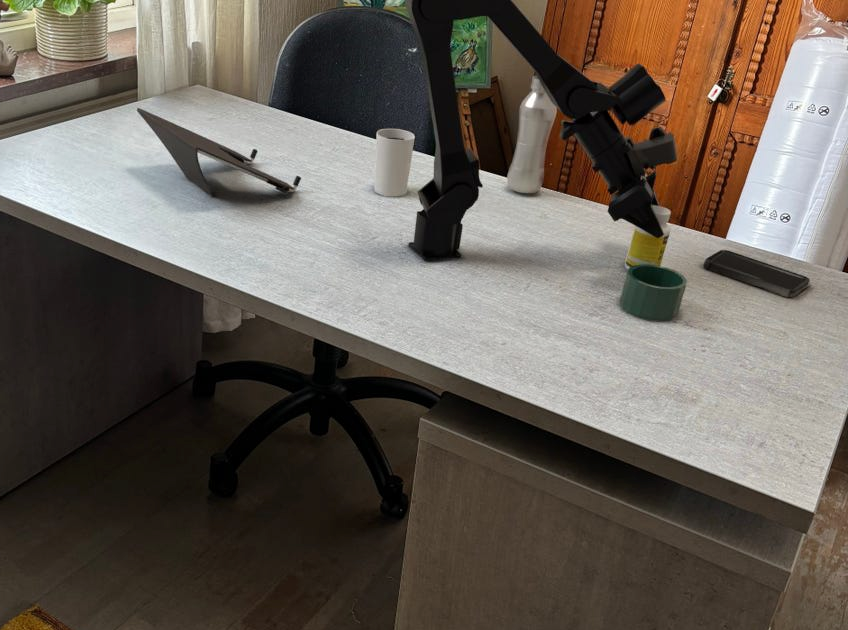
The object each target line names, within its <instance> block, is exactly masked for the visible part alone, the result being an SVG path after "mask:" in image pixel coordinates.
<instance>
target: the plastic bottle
mask: <svg viewBox="0 0 848 630" xmlns="http://www.w3.org/2000/svg"><path fill="white" fill-rule="evenodd" d="M530 90H531V91H530V92H529V93H528V94H527V96H525V98H524V99H523V100H522V102H521V104H520V105H519V109H518V128H517V129H518V130H517V139H516V145H515V149H514V153H513V157H512V159H511V163H510V166H509V169H508V172H507V176H506V183H507V186H508V188H509V189H511V191H514V192H517V193H524V194H534V193H537V192H538V191H539V190H540V189H541V188H542V186H543V184H544V180H545V161H546V153H547V152H546V151H547V146H548V143H549V138H550V134H551V131H552V129H553V125H554V122H555V120H556V116H557V112H558V108H557V107H556V106H555V105H554V104H553V103H552V102H551V100H550V99H549V97H548V95H547V94H546V92H545V90H544V88H543V87H542V85H541V83H540V81H539V79H538V77H537V75H533V76H532V80H531V84H530Z"/></svg>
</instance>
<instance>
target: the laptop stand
mask: <svg viewBox="0 0 848 630" xmlns="http://www.w3.org/2000/svg"><path fill="white" fill-rule="evenodd" d="M136 112H137V113H138V114H139V116H140V117H141V118H142V119H143V120H144V122H146V124H147V125H148V126H149V128H150V129H151V130H152V132H153V133H154V134H155V135H156V137H157V138H158V139H159V141H160V142H161V144H162V145H163V146H164V147H165V149H166V150H167V152H168V153H169V155H170V156H171V158H172V159H173V160H174V162H175V163H176V165H177V166H178V168H179V169H180V171H181V173H182V174H183V175H184V176H185V179H187V180H188V181H190V182H192V183H194V184H195V185H197V186H198V187H199V188H200V189H201V190H202V191H204V192H205V193H206V194H207V195H209V196H210V197H212V196H213V195H214V193H213V191H212V189H211V187H210V185H209V184H208V182H207V180H206V178H205V175H204V173H203V170H202V168H201V164H200V162H199V161H200V160H199V154H200V155H202V156H205V157H208V158H210V159H212V160H214V161H216V162H219V163H221V164H224V165H226V166H228V167H231V168H233V169H235V170H237V171H239V172H242V173H244V174H247V175H249V176H251V177H253V178H256V179H257V180H260V181H263V182H265V183H266V184H268V185H271V186H273V187H275V188H274V189H275V190H276V191H278V192H280V193H283V194H285V195H287V194H288V192H289V193H293V192H295V191H296V190H297V188H298V186H299V184H300V182H301V180H302V177H301V176H300V175H296V176H295V178H294V181H293V182H292V185H291V184H289V183H287V182H286V181H283V180H281V179H279V178H277V177H275V176H273V175H271V174H268V173H266V172H264V171H262V170H260V169H257V168H255V167H253V166H250V165H251V164H252V163H253V162H254V161H255V159H256V156H257V154H258V152H259V151H258V150H257V149H256V148H253V149H252V151H251V153H250V155H249V158H248V157H246V156H245V155H243V154H241V153H240V152H237V151H235V150H234V149H231V148H229V147H227V146H225V145H222V144H221V143H218V142H216V141H214V140H212V139H210V138H207V137H205V136H203V135H200V134H198V133H196V132H195V131H192V130H190V129H187V128H185V127H183V126H181V125H178V124H177V123H174V122H173V121H172V122H171V121H170V120H167V119H165V118H162V117H160V116H158V115H156V114H153V113H151V112H150V111H147V110H145V109H142V108H140V107H138V108H136Z"/></svg>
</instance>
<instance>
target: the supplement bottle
mask: <svg viewBox="0 0 848 630" xmlns="http://www.w3.org/2000/svg"><path fill="white" fill-rule="evenodd" d="M652 206H653V209H654V211H655V213H656V216H657V218H658V220H659V223H660V225H661V228H662V230H663V233H664V235H663V236H662V237H660V238H656V237H654V236H652V235H651V234H649V233H647V232H646V231H644V230H642V229H640V228H639V227H637V226H635V225H634V228H633V231H632V236H631V239H630V243H629V247H628V250H627V254H626V257H625V261H624V267H625V268H626V270H628V269H629V268H630V267H632V266H634V265H641V264H648V265H658V266H661V264H662V262H663V261H662V260H663V258H664V255H665V251H666V248H667V244H668V241H669V237H670V233H671V226H670V225H669V224H668V222H669V221H670V218H671V214H672V211H671V210H670V209H669V208H666V207H664V206H660V205H659V206H656V205H652Z"/></svg>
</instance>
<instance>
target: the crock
mask: <svg viewBox="0 0 848 630" xmlns="http://www.w3.org/2000/svg"><path fill="white" fill-rule="evenodd" d="M687 284H688V279H687V278H686V277H685V276H684V274H682V273H681V272H679V271H677V270H674V269H672V268H669V267H666V266H661V265H660V266H658V265H648V264H641V265H634V266H632V267H630V268H629V269H627V272H626V276H625V279H624V283H623V287H622V292H621V295H620V299H619V306H620V308H621V309H622V310H623V311H624V312H626V313H627V314H629V315H632V316H634V317H636V318H639V319H642V320H647V321H654V322H667V321H671V320H674V319H675V318H677V317H678V315H679V313H680V312H679V311H680V308H681V305H682V301H683V298H684V294H685V291H686V288H687Z"/></svg>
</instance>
